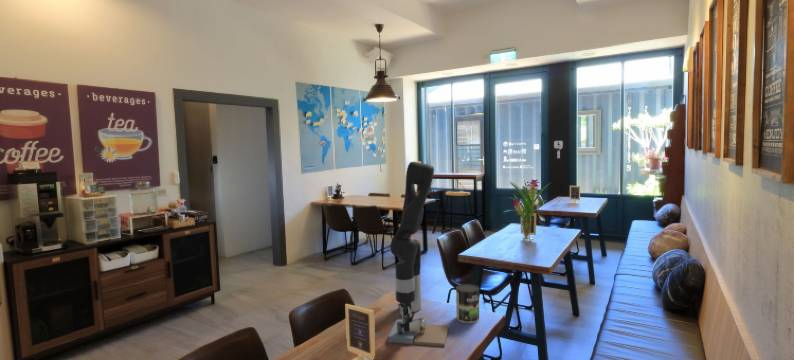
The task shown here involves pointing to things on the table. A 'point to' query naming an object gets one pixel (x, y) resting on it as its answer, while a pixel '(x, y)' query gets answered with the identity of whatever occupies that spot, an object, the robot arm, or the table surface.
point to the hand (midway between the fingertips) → (406, 330)
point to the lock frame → (421, 335)
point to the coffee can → (467, 303)
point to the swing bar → (412, 325)
